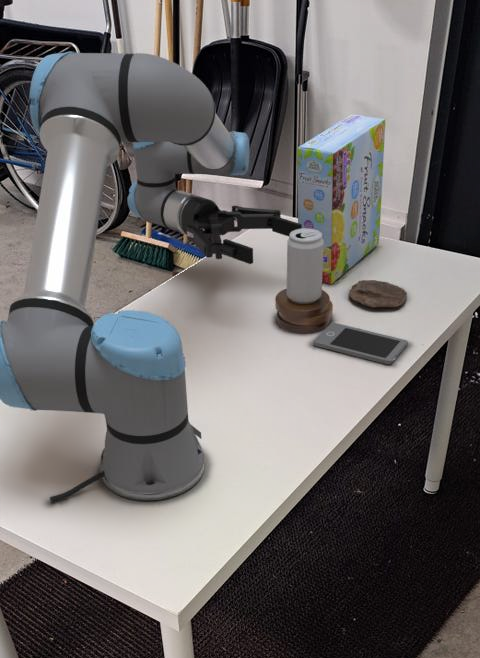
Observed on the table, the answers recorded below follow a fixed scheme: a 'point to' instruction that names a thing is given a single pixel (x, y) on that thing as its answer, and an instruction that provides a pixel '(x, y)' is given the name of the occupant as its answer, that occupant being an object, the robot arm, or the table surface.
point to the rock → (377, 294)
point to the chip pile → (303, 313)
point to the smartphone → (360, 343)
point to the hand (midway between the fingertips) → (276, 244)
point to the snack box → (343, 190)
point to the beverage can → (304, 265)
